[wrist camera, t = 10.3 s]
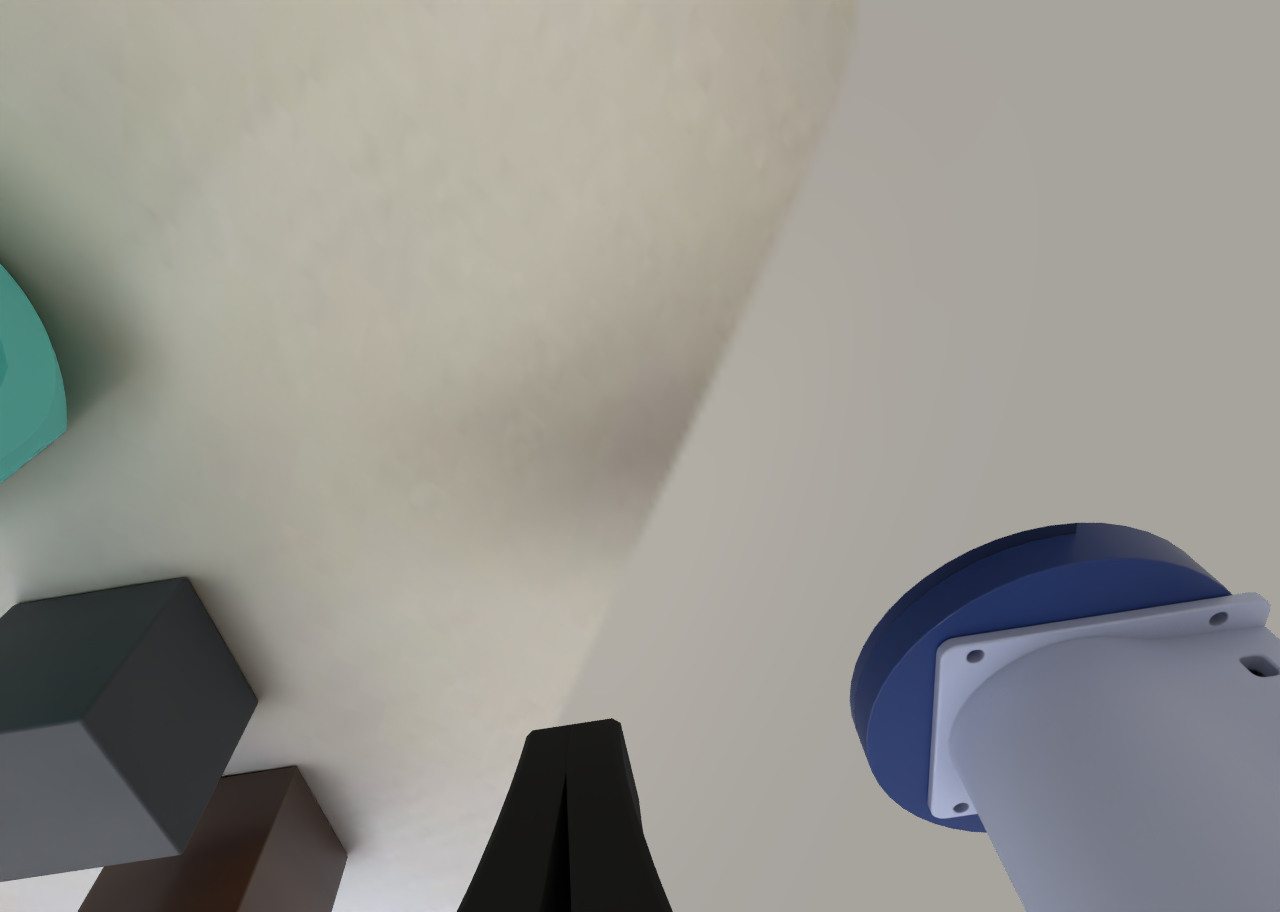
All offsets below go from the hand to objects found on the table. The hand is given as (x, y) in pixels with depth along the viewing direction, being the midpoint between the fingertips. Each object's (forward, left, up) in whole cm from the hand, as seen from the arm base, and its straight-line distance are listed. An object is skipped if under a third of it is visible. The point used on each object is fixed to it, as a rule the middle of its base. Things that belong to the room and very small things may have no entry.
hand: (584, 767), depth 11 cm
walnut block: (+14, +12, -9) cm, 21 cm away
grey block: (+14, +4, -9) cm, 17 cm away
